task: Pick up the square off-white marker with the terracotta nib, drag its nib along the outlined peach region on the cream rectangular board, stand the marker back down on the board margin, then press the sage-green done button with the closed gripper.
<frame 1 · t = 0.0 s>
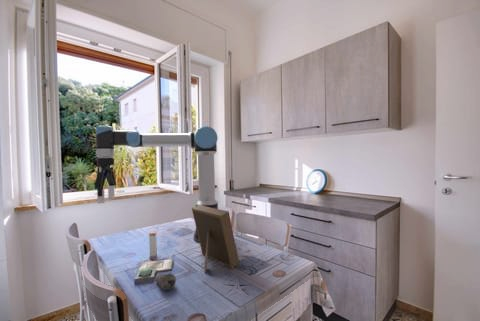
hand: (106, 200, 111), 28 cm above the table, fingers open, 13 cm apart
stone: (164, 287, 84), on the table
cream rectangular board: (156, 267, 99), on the table
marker: (153, 256, 110), on the table
button: (145, 272, 90), point 2 cm above the table, slide at 0.0 cm
button housing: (145, 278, 90), on the table
photo frame: (210, 263, 102), on the table
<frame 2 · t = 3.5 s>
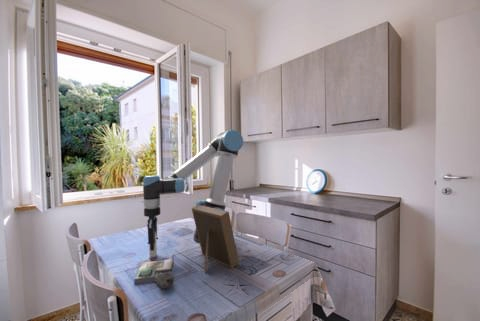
hand: (153, 254, 110), 1 cm above the table, fingers closed on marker, 3 cm apart
stone: (162, 286, 85), on the table
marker: (153, 256, 110), on the table, touching gripper
everything else where it was.
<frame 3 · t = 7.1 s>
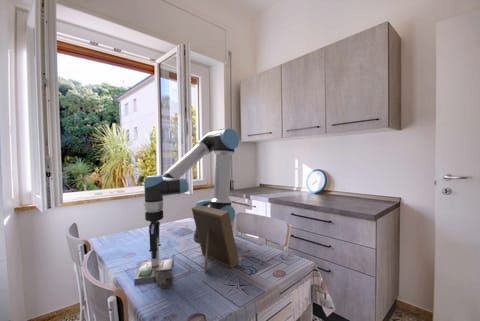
hand: (155, 263, 99), 2 cm above the table, fingers closed on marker, 3 cm apart
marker: (155, 265, 99), point 1 cm above the table, touching gripper
when the fingers open (2 cm above the table, at t = 10.7 s): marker stays where it is, resting on cream rectangular board.
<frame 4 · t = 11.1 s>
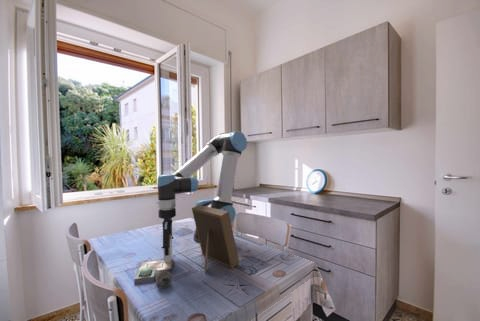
hand: (168, 257, 103), 3 cm above the table, fingers open, 8 cm apart
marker: (168, 261, 103), point 1 cm above the table, touching cream rectangular board
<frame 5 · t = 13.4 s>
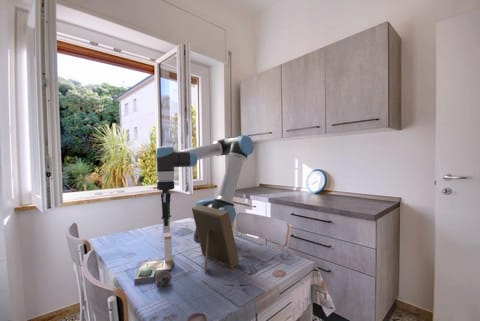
hand: (166, 232, 102), 14 cm above the table, fingers closed
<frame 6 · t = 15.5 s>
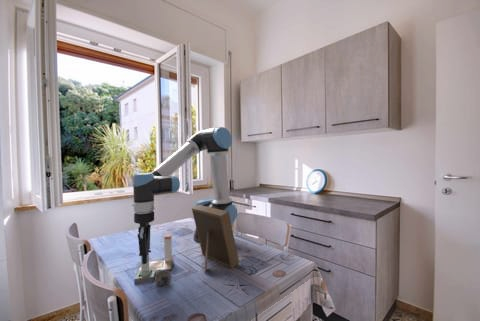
hand: (145, 270, 90), 3 cm above the table, fingers closed
button: (145, 274, 90), point 2 cm above the table, slide at 0.6 cm, touching gripper
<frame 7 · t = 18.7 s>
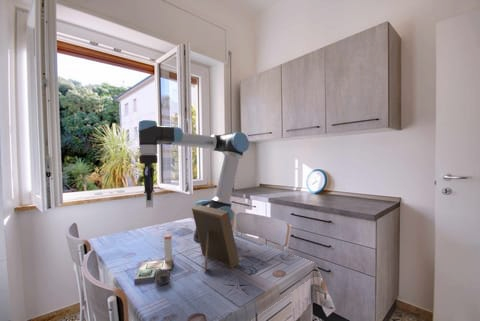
hand: (149, 206, 101), 26 cm above the table, fingers closed
button: (145, 274, 90), point 1 cm above the table, slide at 0.8 cm
at the end: button slide at 0.8 cm; the gripper is holding nothing; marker inside the target area on the cream rectangular board (5.7 cm from its centre), point 0.7 cm above the cream rectangular board's base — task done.
